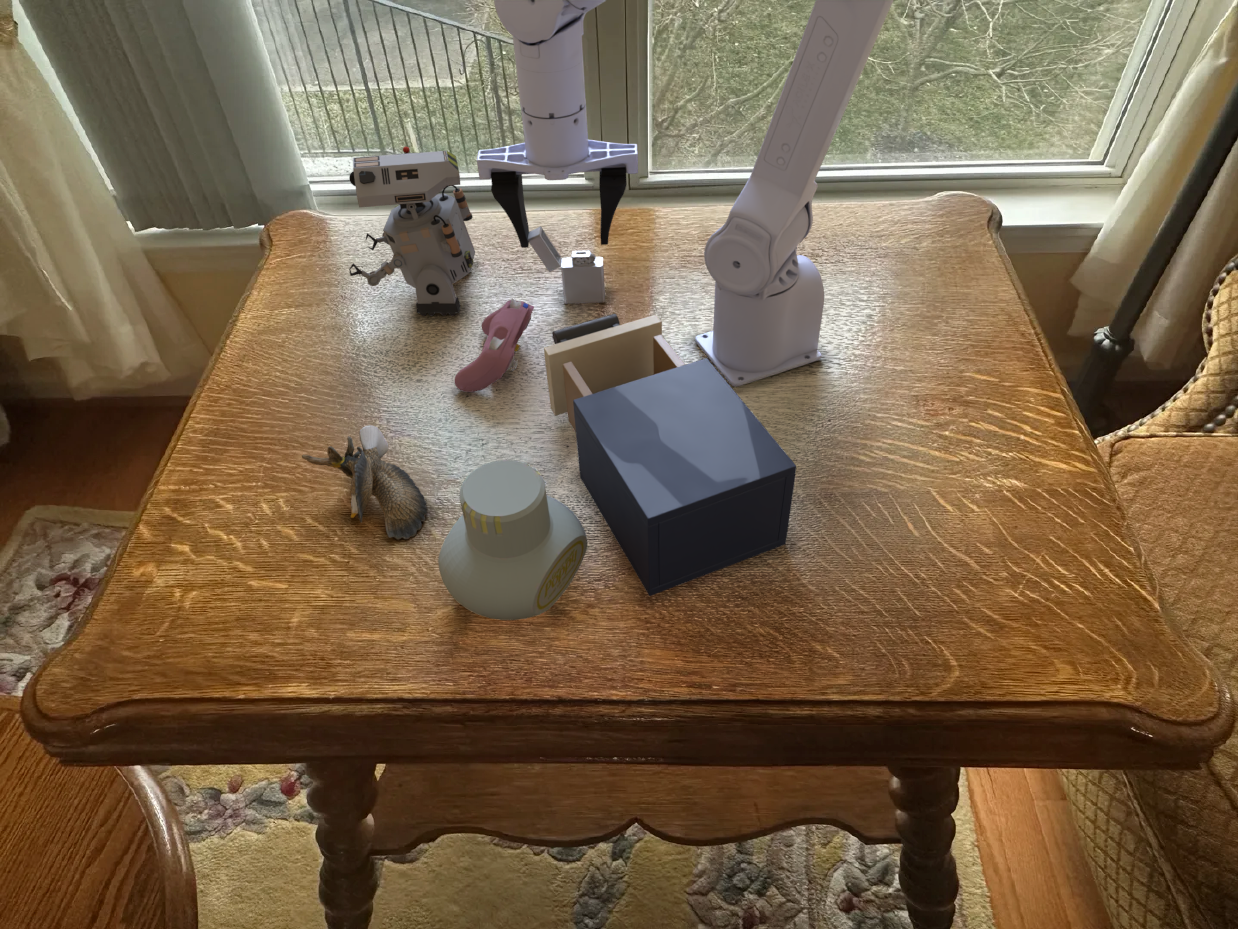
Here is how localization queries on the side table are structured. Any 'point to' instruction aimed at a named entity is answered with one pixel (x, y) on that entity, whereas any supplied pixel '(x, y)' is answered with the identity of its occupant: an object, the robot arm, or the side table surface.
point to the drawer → (603, 358)
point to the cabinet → (683, 474)
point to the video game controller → (496, 346)
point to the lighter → (572, 270)
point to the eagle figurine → (378, 483)
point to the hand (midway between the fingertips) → (564, 240)
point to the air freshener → (510, 544)
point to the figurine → (419, 223)
